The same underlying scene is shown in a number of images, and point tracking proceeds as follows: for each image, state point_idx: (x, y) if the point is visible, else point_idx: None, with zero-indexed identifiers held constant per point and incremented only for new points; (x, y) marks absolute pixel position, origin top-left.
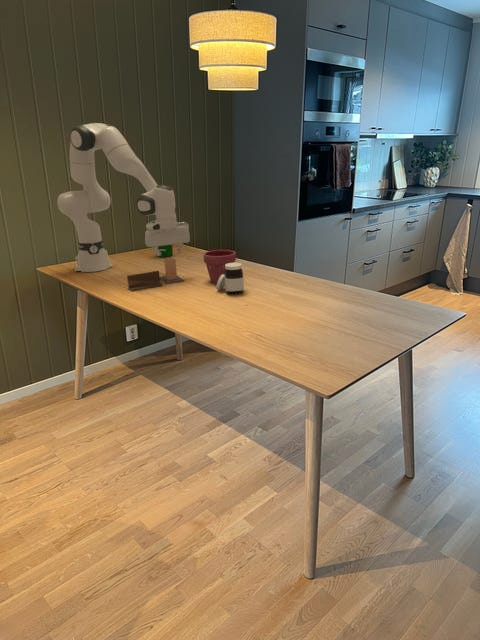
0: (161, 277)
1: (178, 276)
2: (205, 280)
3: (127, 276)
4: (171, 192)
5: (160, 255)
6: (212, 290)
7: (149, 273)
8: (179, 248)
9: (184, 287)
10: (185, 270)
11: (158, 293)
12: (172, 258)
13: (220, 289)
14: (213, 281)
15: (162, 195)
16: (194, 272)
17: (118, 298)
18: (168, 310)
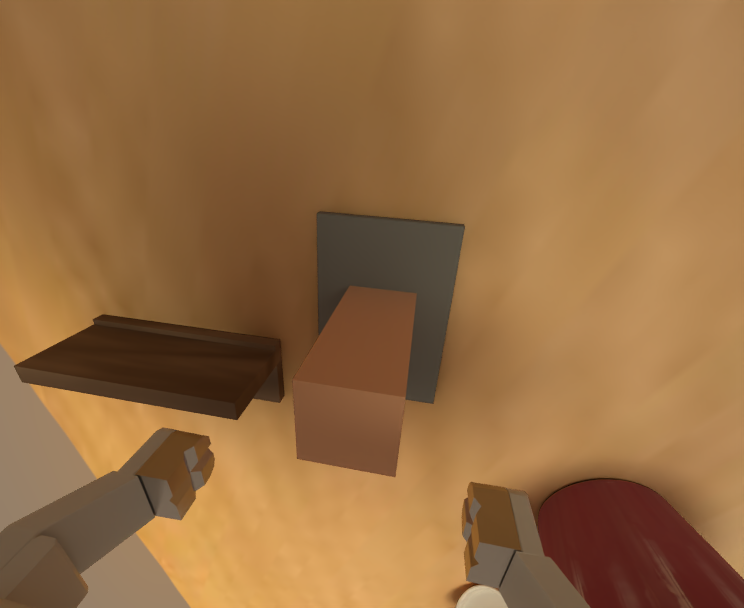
0: (328, 246)
1: (448, 308)
2: (542, 462)
3: (23, 371)
4: None
5: (202, 470)
6: (451, 572)
7: (169, 403)
8: (513, 603)
9: (372, 477)
10: (672, 96)
11: (236, 466)
12: (387, 427)
13: (477, 596)
14: (538, 529)
15: None
16: (663, 244)
17: (70, 414)
18: (229, 589)
